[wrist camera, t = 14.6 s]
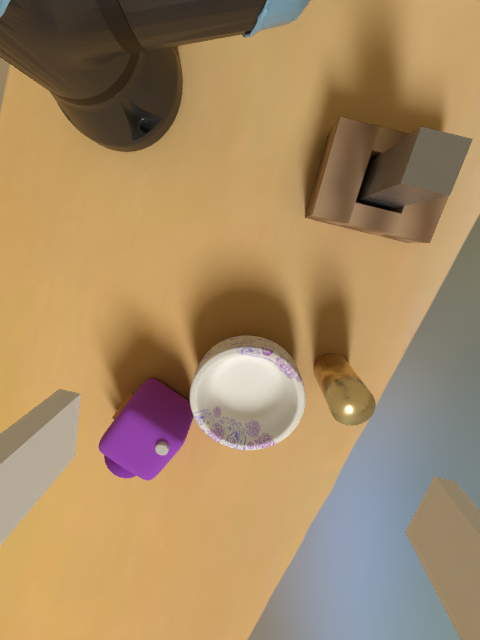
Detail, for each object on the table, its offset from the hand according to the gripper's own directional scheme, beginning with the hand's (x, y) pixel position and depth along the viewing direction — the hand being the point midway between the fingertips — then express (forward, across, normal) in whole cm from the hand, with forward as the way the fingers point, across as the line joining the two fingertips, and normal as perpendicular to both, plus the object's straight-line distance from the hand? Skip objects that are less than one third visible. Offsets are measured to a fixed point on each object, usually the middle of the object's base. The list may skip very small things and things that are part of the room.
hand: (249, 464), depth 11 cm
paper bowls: (+32, +2, -12) cm, 34 cm away
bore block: (+32, +11, +17) cm, 38 cm away
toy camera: (+32, -11, -23) cm, 41 cm away
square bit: (+32, +11, +17) cm, 38 cm away
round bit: (+32, +14, -8) cm, 36 cm away
